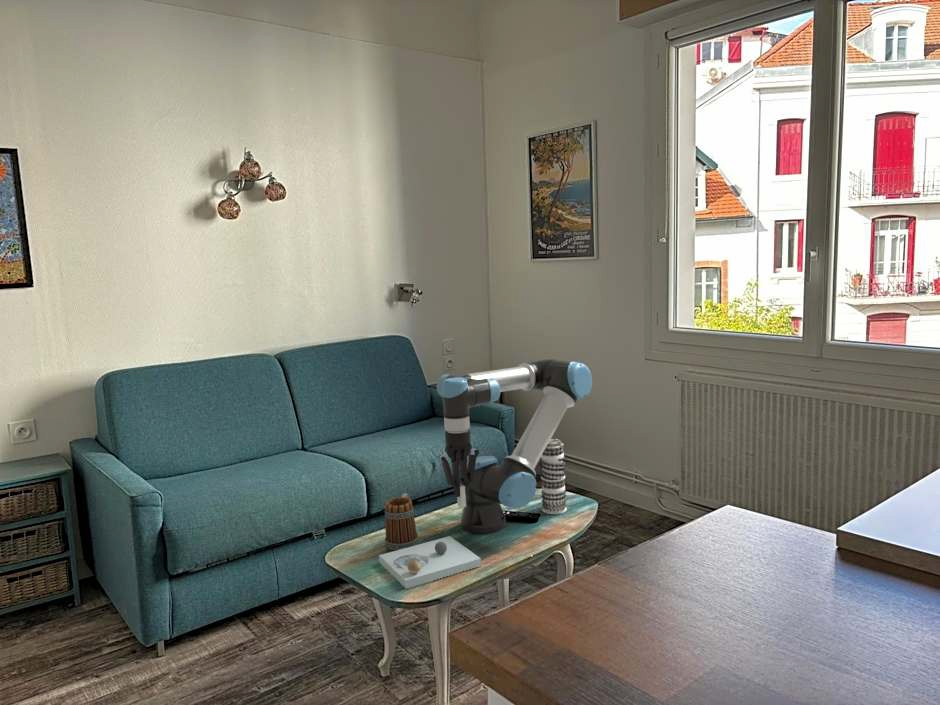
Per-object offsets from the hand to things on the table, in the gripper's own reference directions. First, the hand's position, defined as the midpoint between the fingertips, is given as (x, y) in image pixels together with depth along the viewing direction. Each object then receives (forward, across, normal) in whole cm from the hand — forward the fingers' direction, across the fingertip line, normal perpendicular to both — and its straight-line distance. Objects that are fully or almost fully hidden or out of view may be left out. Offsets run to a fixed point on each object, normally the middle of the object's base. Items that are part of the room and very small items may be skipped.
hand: (461, 505), depth 218 cm
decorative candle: (+16, -43, -14) cm, 48 cm away
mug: (+16, +12, -19) cm, 27 cm away
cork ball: (+11, +20, +7) cm, 24 cm away
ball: (+11, +8, 0) cm, 14 cm away
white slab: (+16, +12, 0) cm, 20 cm away
